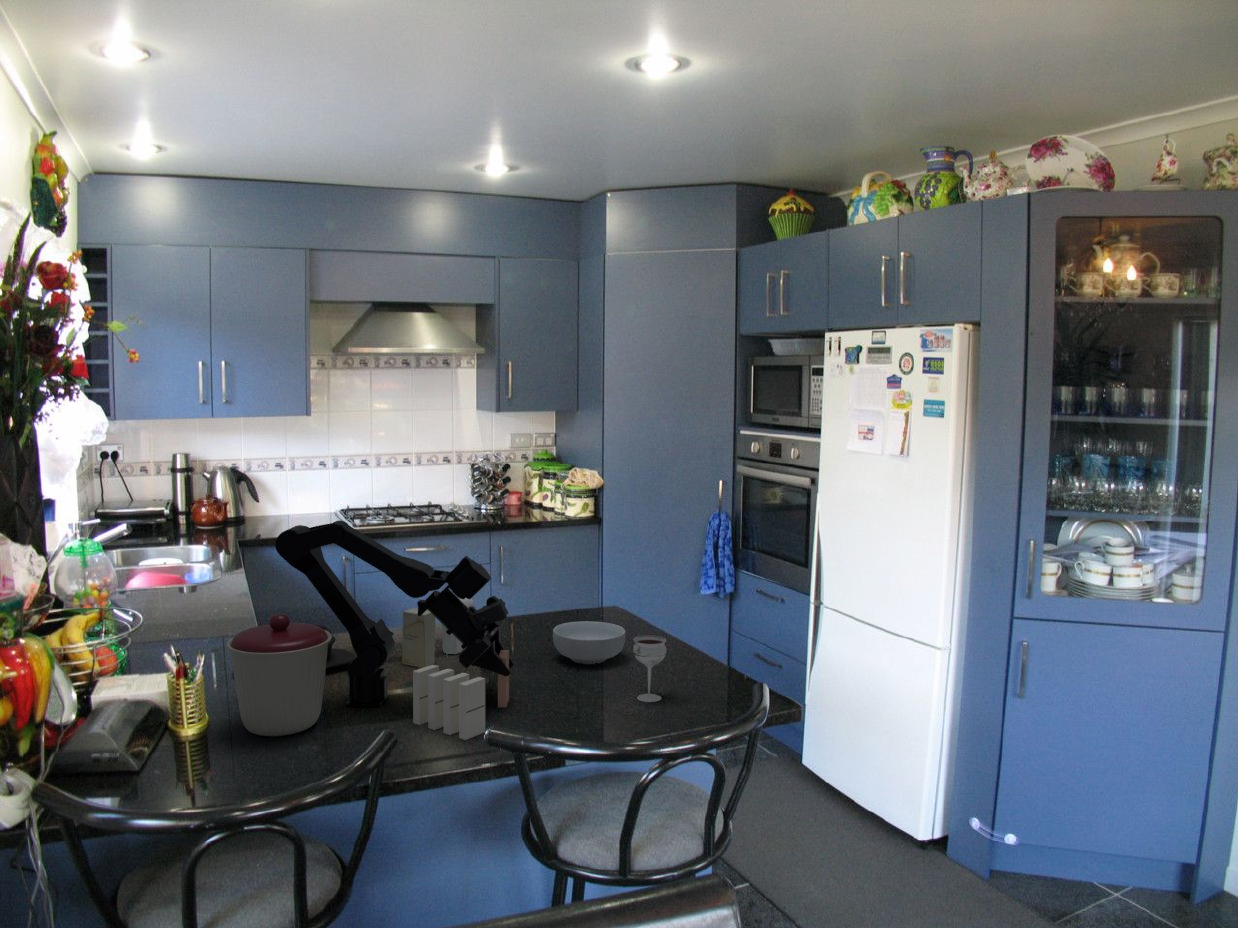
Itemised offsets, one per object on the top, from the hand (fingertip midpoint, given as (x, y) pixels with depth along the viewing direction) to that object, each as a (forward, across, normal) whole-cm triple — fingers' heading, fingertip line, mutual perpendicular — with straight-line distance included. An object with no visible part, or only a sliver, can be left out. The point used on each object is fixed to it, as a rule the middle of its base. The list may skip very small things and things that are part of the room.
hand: (510, 670), depth 189 cm
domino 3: (-1, -15, +10) cm, 18 cm away
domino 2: (-3, -12, +13) cm, 18 cm away
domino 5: (+4, 0, +6) cm, 7 cm away
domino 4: (+1, -17, +8) cm, 19 cm away
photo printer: (-7, +37, +16) cm, 41 cm away
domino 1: (-6, -10, +15) cm, 19 cm away
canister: (-24, -14, +33) cm, 43 cm away
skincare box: (-12, +25, +21) cm, 35 cm away
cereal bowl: (+15, +30, -5) cm, 34 cm away
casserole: (-30, +20, +40) cm, 54 cm away
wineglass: (+24, +4, -15) cm, 29 cm away
